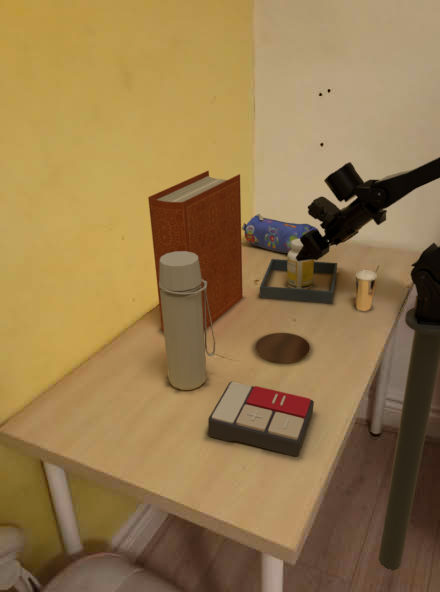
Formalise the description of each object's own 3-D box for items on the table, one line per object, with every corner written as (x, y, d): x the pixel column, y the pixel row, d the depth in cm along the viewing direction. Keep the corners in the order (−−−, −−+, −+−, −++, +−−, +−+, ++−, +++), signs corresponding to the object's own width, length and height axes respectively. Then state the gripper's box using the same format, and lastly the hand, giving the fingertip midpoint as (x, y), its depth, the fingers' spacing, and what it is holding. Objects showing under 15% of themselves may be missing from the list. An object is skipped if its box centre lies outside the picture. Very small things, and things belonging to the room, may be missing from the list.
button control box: (300, 439, 81) (207, 415, 86) (297, 460, 83) (207, 436, 88) (315, 396, 90) (230, 377, 94) (312, 416, 92) (229, 396, 97)
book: (213, 290, 134) (207, 170, 120) (242, 297, 131) (240, 174, 116) (159, 333, 117) (144, 198, 103) (190, 342, 114) (179, 204, 99)
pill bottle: (316, 282, 136) (319, 239, 131) (306, 293, 132) (308, 248, 126) (293, 277, 140) (294, 235, 134) (282, 287, 135) (283, 244, 129)
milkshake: (380, 309, 123) (385, 269, 118) (360, 313, 122) (364, 273, 117) (368, 300, 127) (372, 261, 122) (349, 305, 125) (352, 265, 121)
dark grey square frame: (336, 273, 141) (337, 262, 139) (332, 303, 126) (333, 292, 125) (271, 269, 145) (271, 258, 143) (259, 298, 130) (259, 286, 129)
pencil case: (241, 247, 159) (240, 216, 155) (257, 238, 165) (257, 208, 160) (307, 263, 147) (308, 230, 143) (322, 253, 153) (324, 221, 148)
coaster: (312, 337, 114) (312, 335, 113) (306, 366, 104) (306, 364, 104) (260, 332, 116) (260, 330, 116) (250, 360, 107) (250, 358, 107)
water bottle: (172, 396, 98) (159, 270, 86) (165, 372, 104) (153, 252, 92) (221, 388, 99) (216, 263, 87) (211, 364, 106) (205, 245, 94)
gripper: (351, 178, 125) (307, 215, 137) (309, 199, 113) (265, 237, 124) (379, 217, 125) (333, 251, 136) (340, 242, 112) (293, 277, 124)
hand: (307, 253), depth 130 cm, fingers open, 9 cm apart
